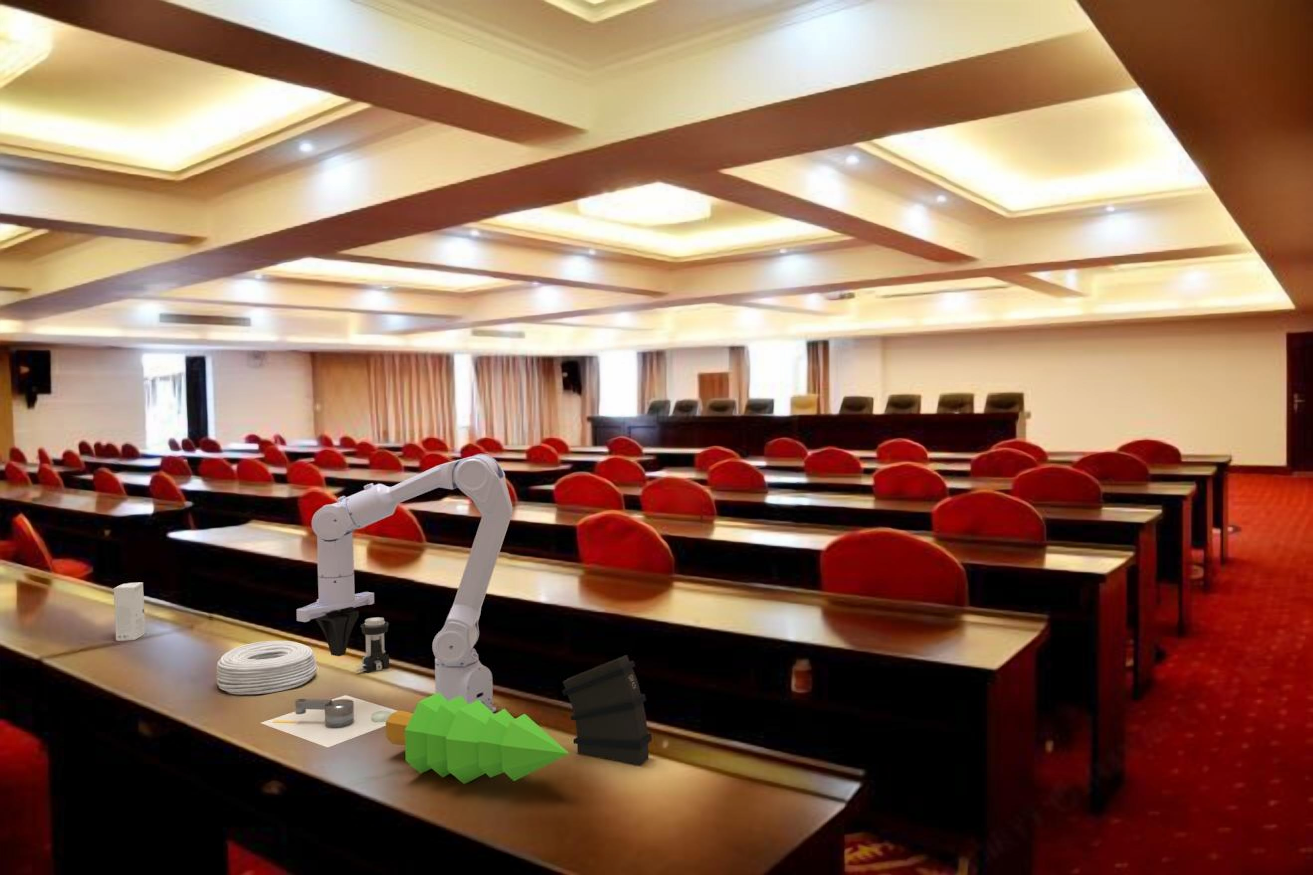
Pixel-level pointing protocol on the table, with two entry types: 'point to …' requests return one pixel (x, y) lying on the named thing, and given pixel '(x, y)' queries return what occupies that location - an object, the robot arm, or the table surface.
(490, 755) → the decorative tree
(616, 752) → the magazine
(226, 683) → the cable
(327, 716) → the grey crank handle
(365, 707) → the white paper sheet
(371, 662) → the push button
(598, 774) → the table surface
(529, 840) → the table surface
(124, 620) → the skincare box
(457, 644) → the robot arm
